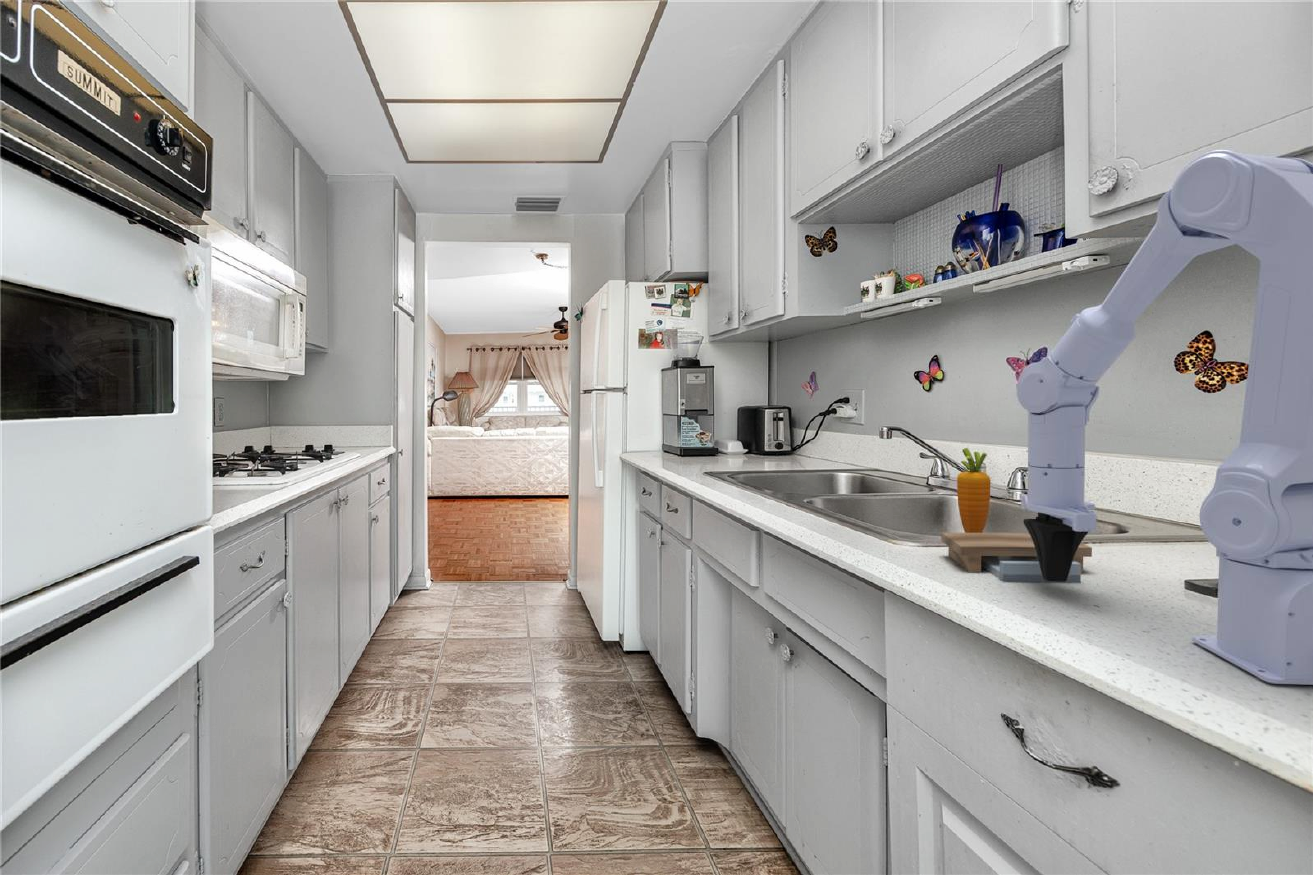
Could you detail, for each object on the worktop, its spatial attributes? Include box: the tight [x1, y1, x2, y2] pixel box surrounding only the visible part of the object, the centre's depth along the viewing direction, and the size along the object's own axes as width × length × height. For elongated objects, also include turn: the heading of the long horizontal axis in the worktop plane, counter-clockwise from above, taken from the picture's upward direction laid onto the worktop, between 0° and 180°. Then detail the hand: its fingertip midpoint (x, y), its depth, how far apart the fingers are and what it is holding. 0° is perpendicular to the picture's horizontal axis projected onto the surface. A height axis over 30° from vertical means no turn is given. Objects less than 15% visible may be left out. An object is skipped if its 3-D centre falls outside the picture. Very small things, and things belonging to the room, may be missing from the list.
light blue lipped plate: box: [981, 556, 1082, 584], centre depth 87 cm, size 11×9×3 cm
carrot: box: [956, 447, 991, 533], centre depth 103 cm, size 5×5×15 cm
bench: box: [940, 532, 1093, 574], centre depth 90 cm, size 9×16×3 cm, turn 82°
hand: (1054, 580), depth 78 cm, fingers closed
